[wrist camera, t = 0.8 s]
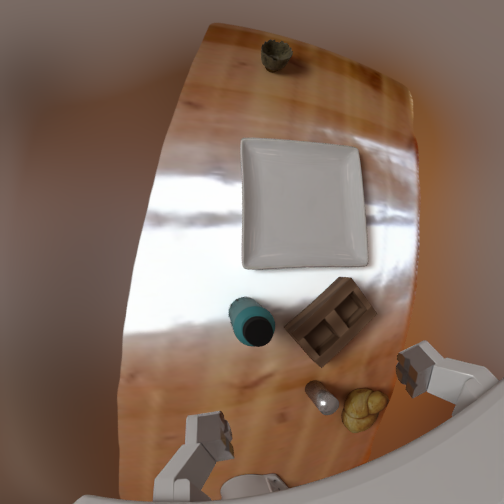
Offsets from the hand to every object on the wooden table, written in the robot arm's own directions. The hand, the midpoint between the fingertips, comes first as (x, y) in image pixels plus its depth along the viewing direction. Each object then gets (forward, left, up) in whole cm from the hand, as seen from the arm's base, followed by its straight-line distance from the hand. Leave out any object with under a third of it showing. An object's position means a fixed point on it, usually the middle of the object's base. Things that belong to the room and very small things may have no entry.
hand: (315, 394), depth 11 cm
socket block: (-16, -11, -46) cm, 50 cm away
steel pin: (-27, +1, -46) cm, 53 cm away
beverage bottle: (-3, +1, -46) cm, 46 cm away
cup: (+38, -42, -46) cm, 73 cm away
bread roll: (-40, -3, -46) cm, 61 cm away
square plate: (+6, -23, -46) cm, 52 cm away
